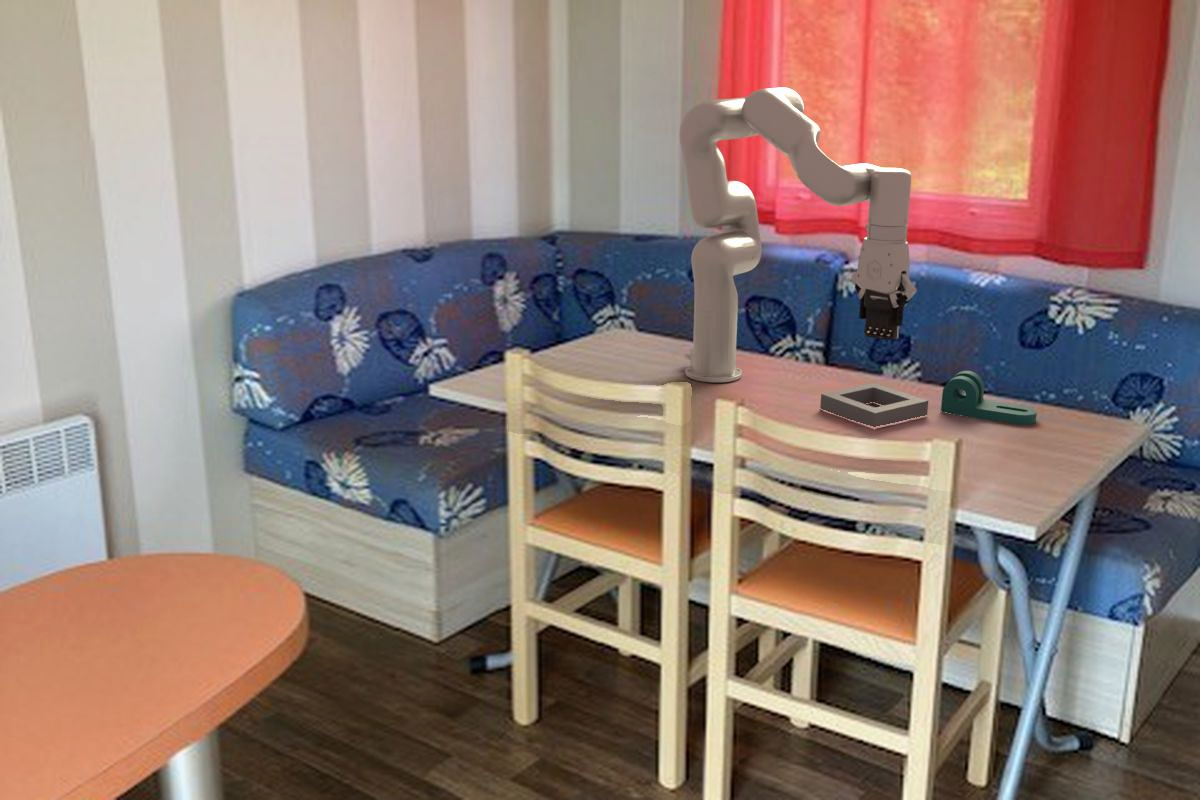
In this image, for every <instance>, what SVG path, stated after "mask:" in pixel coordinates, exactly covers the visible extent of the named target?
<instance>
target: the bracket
mask: <svg viewBox="0 0 1200 800" xmlns="http://www.w3.org/2000/svg"><path fill="white" fill-rule="evenodd" d="M941 394H942V395H941V406H940V412H941V411H942V412H947V413H951V414H950V415H953V414H955V415H954V416H959V415H962V416H961V417H966V416H968V418H972V417H973V419H979V420H985V421H991V422H998V423H1004V424H1010V425H1016V426H1017V425H1018V426H1029V425H1034V424H1035V423H1036V422H1037V414H1038V411H1037V409H1035V408H1033V407H1031V406H1027V405H1023V404H1016V403H1015V404H1014V403H1009V402H1002V401H994V400H989V399H984V394H985V383H984V381H983V378H982V377H981V375H979V374H978V373H977V372H975V371H973V370H972V371H971V370H961V371H959V372H958V373H956V374H955V375H954V376H953V377H952V378H950V380H949V381H947V383H946V384H945V385H944V387H943V389H942V393H941ZM947 413H946V414H947Z"/></svg>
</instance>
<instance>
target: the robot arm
mask: <svg viewBox="0 0 1200 800" xmlns="http://www.w3.org/2000/svg"><path fill="white" fill-rule="evenodd" d="M804 112H805V107H804V103H803V100H802V97H801V96H800V95H799V94H798V93H797V92H796V91H795V90H793V89H791V88H788V87H772V88H771V87H769V88H760V89H757V90H755V91H753V92H751V93H750V94H748V96H744V97H737V98H736V97H733V98H719V99H718V98H717V99H711V100H710V99H709V100H706V101H703V102H699V103H697V104H696V105H694V106H692V107H691V108H689V110H688V111H687V112H686V113H685V115H684V116H683V118H682V121H681V124H680V127H679V144H680V145H679V146H680V149H681V154H682V157H683V161H684V166H685V173H686V183H687V190H688V195H689V197H688V198H689V203H690V210H691V215H692V219H693V221H694V223H695V224H696V225H697V226H699V227H700V228H703V229H707V230H709V229H710V230H711V229H717V228H721V230H722V232H721V233H716V234H711V235H708V236H705V237H703V238H702V239H700V240H699V241H698V242H697V243H696V244H695V246H693V249H692V253H691V256H690V257H691V258H690V259H691V260H690V261H691V263H690V264H691V269H692V276H693V284H694V285H693V286H694V290H693V291H694V299H693V300H694V306H693V307H694V308H693V309H694V310H693V336H692V337H693V339H692V340H693V342H692V349H691V350H690V351H689V352H686V353H685V355H684V358H685V359H687V360H689V361H690V365H689V366H687V367H686V368H685V376H686V377H687V378H689V379H691V380H694V381H699V382H702V383H715V384H716V383H717V384H718V383H731V382H734V381H737V380H739V379H741V378H742V376H743V370H742V369H741V368H740V367H737V366H736V359H737V358H736V355H737V334H738V333H737V331H738V312H739V311H738V310H739V308H738V307H739V297H738V296H739V295H738V291H737V288H736V284H735V281H734V276H736V275H740V274H743V273H747V272H749V271H752V270H753V269H755V268H756V267H757V265H758V264H759V263H760V260H761V257H762V249H763V248H762V239H761V231H760V230H761V229H760V223H759V216H758V209H757V203H756V199H755V196H754V194H753V192H752V190H751V189H750V187H748V186H747V185H746V184H745V183H743V182H740V181H738V180H737V181H736V180H728V177H727V169H726V162H725V159H724V156H723V154H722V152H721V151H720V149H719V147H718V146H717V142H719V141H728V140H735V139H736V140H737V139H745V138H750V137H755V136H760V137H762V138H763V139H764V140H766V141H767V142H768V144H771V145H772V146H773V147H774V148H776V150H778V151H779V152H780V153H782V154H783V155H784V156H785V157H786V158H788V159H789V160H790V163H791V166H792V169H793V170H794V173H795V174H796V176H797V178H798V179H799V181H800V182H801V183H802V184H803V185H804V186H805V187H806V188H807V189H809V191H811V192H812V193H813V194H814V195H816V196H817V197H818V198H820V199H821V200H822V201H823V202H826V203H827V204H830V205H831V206H834V207H835V206H836V207H844V206H850V205H854V204H855V205H856V204H859V203H865V202H868V203H869V204H868V217H867V219H868V221H867V223H866V225H865V228H864V229H865V230H866V231H867V233H866V234H867V235H866V237H864V238H863V241H862V243H861V247H860V252H859V256H858V262H857V271H856V272H854V273H852V275H851V277H850V278H851V280H852V282H853V285H854V289H855V291H856V292H857V298H858V299H859V313H858V314H859V315H858V318H859V320H864V319H865V320H866V307H864V298H865V289H868V290H871V291H875V292H879V293H883V294H889V295H890V299H891V302H892V305H893V307H890V312H889V327H897V326H899V327H901V326H902V325H903V317H904V307H906V306H907V304H908V303H910V301H911V300H912V298H913V296H915V294H916V293H917V288H916V286H915V285H914V284H913V283H912V281H911V280H910V266H911V265H910V250H909V248H910V247H909V242H908V241H907V236H908V222H909V215H910V214H909V212H910V198H911V190H912V189H911V185H912V175H911V172H910V171H909V170H907V169H904V168H898V167H881V166H877V165H874V164H870V163H855V164H849V165H842V166H841V165H839V164H837V162H835V161H833V159H831V158H830V157H828V156H827V155H826V154H825V153H824V152H823V151H822V150H821V149H820V148H819V146H818V145H817V144H818V141H819V139H820V137H821V129H820V127H819V125H818V124H817V123H815V122H814V121H813V120H812V119H810V118H809V117H807V116H806V115H805V114H804ZM897 289H898V290H897ZM896 294H898V297H899V299H897V296H896Z"/></svg>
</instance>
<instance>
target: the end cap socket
mask: <svg viewBox="0 0 1200 800" xmlns="http://www.w3.org/2000/svg"><path fill="white" fill-rule="evenodd" d="M870 402H875V403H878V404H881V405H884V406H877V407H875V406H872V405H870V404H868V405H866V403H870ZM820 408H821V409H823V410H826V411H828V412H831V413H834V414H836V415H839V416H842V417H845V418H847V419H850V420H854V421H856V422H860V423H863V424H866V425H870V426H873V427H876V426H880V425H886V424H890V423H895V422H899V421H903V420H907V419H911V418H915V417H916V418H917V417H920V416H925V415H927V416H928V412H929V411H928V410H929V409H928V408H929V400H928V399H925V398H923V397H922V398H921V397H918V396H916V395H912V394H909V393H906V392H903V391H901V390H897V389H894V388H892V387H889V386H886V385H882V384H879V383H876V382H871V383H865V384H860V385H856V386H851V387H847V388H842V389H838V390H833V391H829V392H824V393H823V392H822V393H820V406H819V409H820Z"/></svg>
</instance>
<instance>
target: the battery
mask: <svg viewBox="0 0 1200 800" xmlns="http://www.w3.org/2000/svg"><path fill="white" fill-rule="evenodd" d="M897 290H898V289H897ZM896 296H897V299H899V297H898V294H896ZM864 307H866V319H865V325H864V331H863V335H864V337H867V338H871V339H877V340H887V341H892V340H893V341H894V340H897V339H899V335H900V333H899V331H900V326H897V327H889V312H890V307H893V305H892V302H891V299H890V295H889V294H883V293H879V292H875V291H871V290H868V289H865V298H864Z"/></svg>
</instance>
